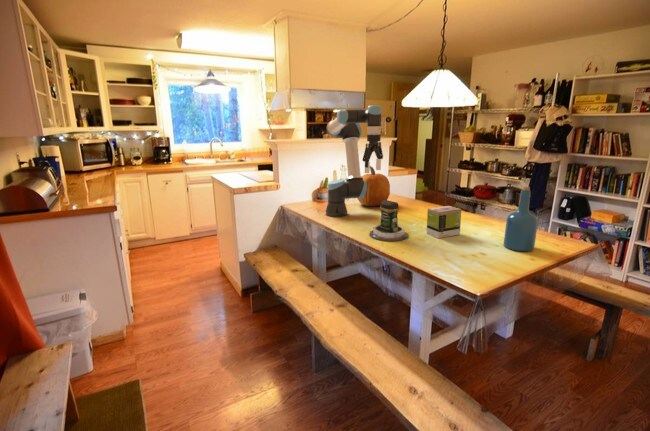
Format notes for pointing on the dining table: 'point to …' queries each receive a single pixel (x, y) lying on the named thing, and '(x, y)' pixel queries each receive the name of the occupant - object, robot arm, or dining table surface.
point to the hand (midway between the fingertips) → (372, 171)
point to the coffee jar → (389, 216)
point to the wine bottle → (521, 225)
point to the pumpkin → (375, 189)
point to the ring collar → (388, 234)
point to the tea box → (443, 221)
